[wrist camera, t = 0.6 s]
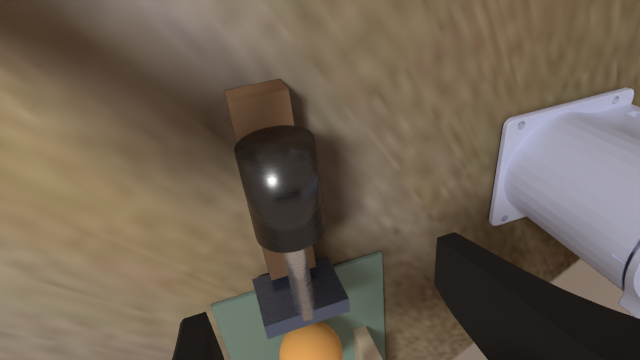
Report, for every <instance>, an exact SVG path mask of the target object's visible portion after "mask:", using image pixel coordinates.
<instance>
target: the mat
mask: <svg viewBox="0 0 640 360" xmlns="http://www.w3.org/2000/svg"><path fill="white" fill-rule="evenodd" d="M333 268H334V270H335V272H336V274H337V276H338V278H339V280H340V282H341V284H342V286H343V288H344V290H345V292H346V294H347V296H348V298H349V305H350V311H349V312H346V313H343V314H340V315H337V316H334V317H331V318H329V319H326V320H323V321H321V322H323V323H325V324H327V325H328V326H330V327H331V328H332V329H333V330H334V331H335V333H336V334H337V335H338V337H339V339H340V342H341V345H342V353H343V357H342V360H355V351H354V341H353V331H352V330H354V329H357V328H360V327H363V326H366V328H367V330H368V332H369V334H370V336H371V338H372V340H373V342H374V344H375V346H376V348H377V349H378V351H379V353H380V355H381V357H382V359H383V360H385V330H384V297H383V263H382V252H381V251H379V252H376V253H372V254H369V255H366V256H363V257H360V258H357V259H354V260H350V261H347V262H344V263H341V264H338V265H335V266H333ZM211 308H212V310H213V313H214V316H215V318H216V321H217V324H218V326H219V329H220V332H221V334H222V337H223V340H224V342H225V345H226V348H227V350H228V353H229V356H230V358H231V360H280V358H279V351H280V346H281V342H282V340H283V338H284V336H285V334H286V333H285V334H282V335H279V336H276V337H273V338H270V339H267V335H266V332H265V328H264V324H263V320H262V316H261V312H260V308H259V304H258V300H257V296H256V292H255V291H252V292H249V293H246V294H243V295H240V296H237V297H233V298H230V299H227V300H224V301H221V302H218V303H214V304H211Z"/></svg>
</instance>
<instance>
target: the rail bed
mask: <svg viewBox="0 0 640 360" xmlns="http://www.w3.org/2000/svg"><path fill="white" fill-rule="evenodd" d="M224 94H225V98H226V102H227V106H228V110H229V114H230V118H231V122H232V126H233V130H234V134H235V138H236V142H238V141H239V140H240V139H242V138H243V137H244V136H246V135H248V134H250V133H252V132H254V131H256V130H259V129H263V128H267V127H272V126H280V125H292V126H294V120H293V114H292V107H291V101H290V94H289V89H288V88H287V87H286V85H285V84H284V83H283V82H282V80H281V79H277V80H272V81H267V82H262V83H258V84H253V85H248V86H243V87H238V88H234V89H229V90H224ZM262 249H263V253H264V257H265V261H266V264H267V268H268V271H269V274H270V277H271V281H272V280H275V279H278V278H281V277H285V276H288V273H287V269H286V264H285V259H284V254H283V253H277V252H272V251H269V250H267V249H265V248H263V247H262ZM306 251H307V257H308V263H309V269H310V268H313V267H316V263H315V257H314V250H313V245H312V246H310V247H308V248H306Z"/></svg>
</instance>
